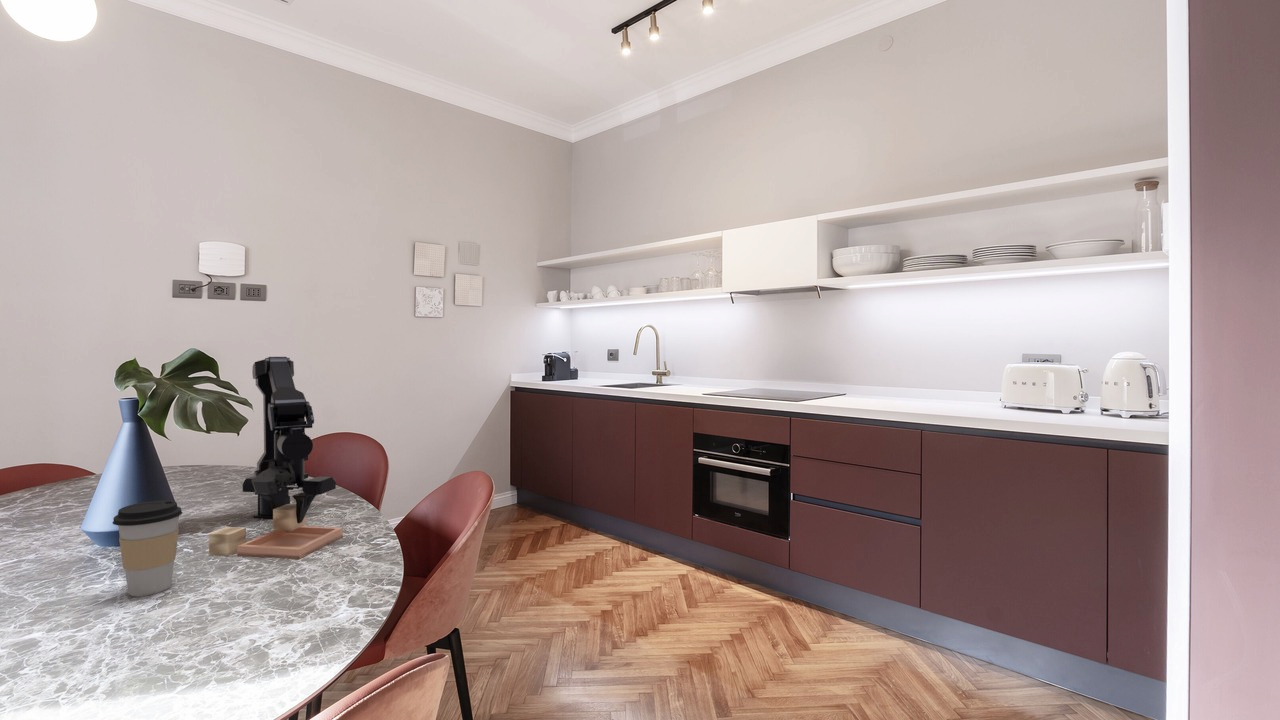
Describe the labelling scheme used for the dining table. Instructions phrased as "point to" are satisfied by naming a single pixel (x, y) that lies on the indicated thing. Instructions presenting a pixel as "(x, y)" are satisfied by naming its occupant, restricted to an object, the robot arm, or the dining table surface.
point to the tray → (290, 542)
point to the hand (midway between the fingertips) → (289, 522)
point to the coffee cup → (148, 545)
